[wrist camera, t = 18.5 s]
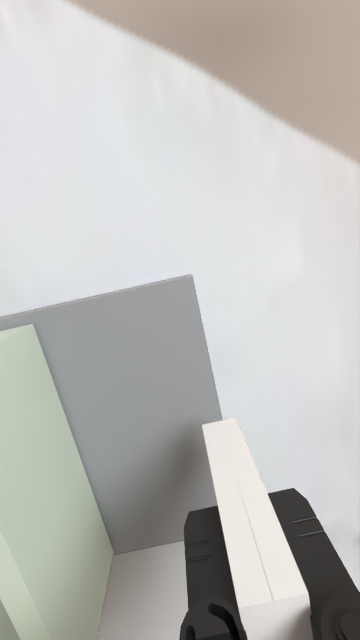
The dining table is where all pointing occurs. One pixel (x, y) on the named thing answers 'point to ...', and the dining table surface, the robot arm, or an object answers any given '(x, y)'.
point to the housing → (44, 508)
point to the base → (135, 403)
